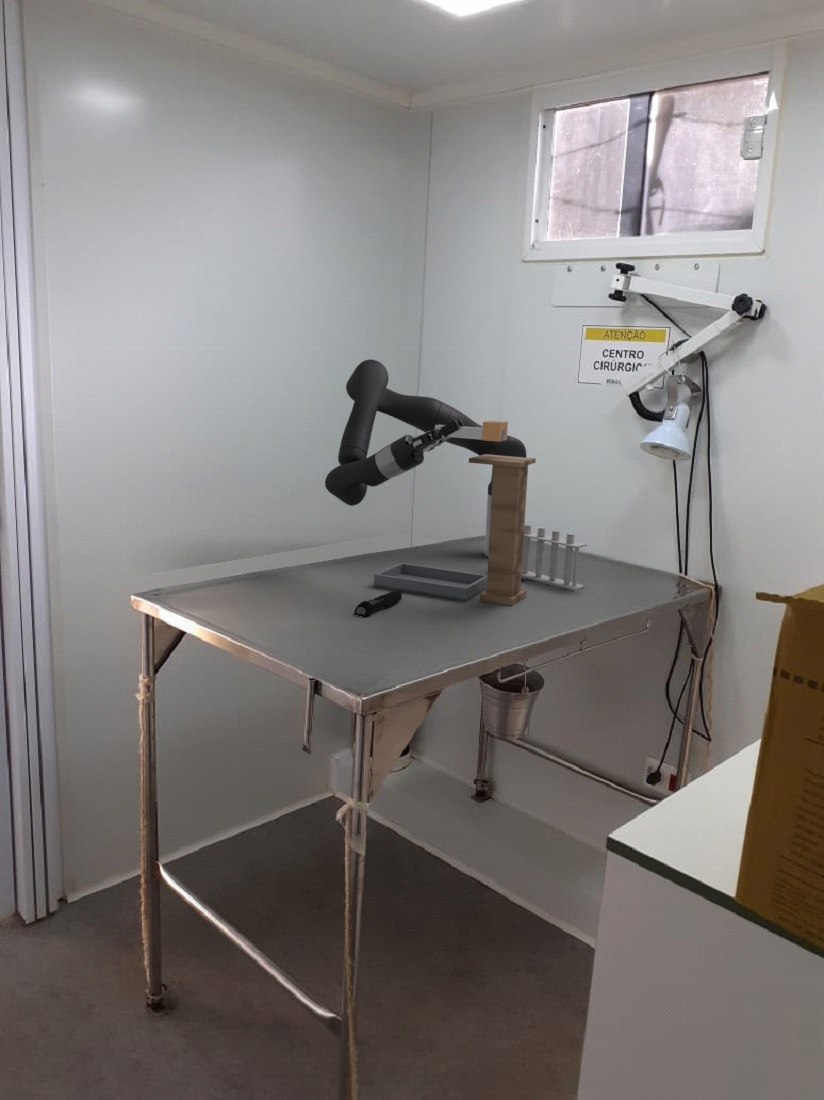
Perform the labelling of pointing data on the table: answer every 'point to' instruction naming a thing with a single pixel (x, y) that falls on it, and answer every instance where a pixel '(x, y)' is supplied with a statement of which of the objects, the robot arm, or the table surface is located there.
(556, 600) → the table surface
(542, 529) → the test tube rack
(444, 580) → the parts tray
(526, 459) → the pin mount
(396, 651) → the table surface
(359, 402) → the robot arm
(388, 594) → the electric trimmer
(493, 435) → the lock pin
